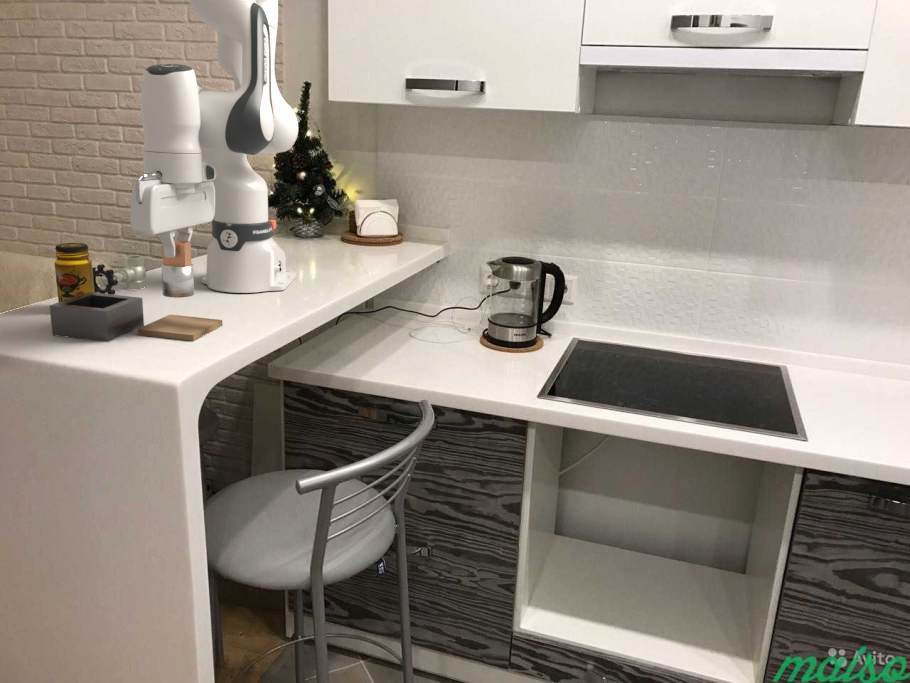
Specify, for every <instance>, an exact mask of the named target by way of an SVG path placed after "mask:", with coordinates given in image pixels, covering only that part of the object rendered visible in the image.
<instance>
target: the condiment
mask: <svg viewBox="0 0 910 683" xmlns="http://www.w3.org/2000/svg"><path fill="white" fill-rule="evenodd" d="M54 249H55V252H56V253H55V257H56V259H55V260H54V268H55V269H54V272H55V281H56V290H57V291H56V292H57V298H58V300H57V303H58V302H61V301H64V300H67V299H70V298H73V297H76V296H79V295H82V294H85V293H88V292H93V293H95V292H94V281H93V269H92V268H93V262H92V259H91V258H90V252H89V246H88V244H86V243H83V242H65V243H59V244H57V245H55V248H54Z"/></svg>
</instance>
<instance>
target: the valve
mask: <svg viewBox="0 0 910 683" xmlns="http://www.w3.org/2000/svg"><path fill="white" fill-rule="evenodd" d="M123 265H124V267H121V268H119V269H117V272H114V270H113V269H110V268H109V269H106V270H105V268H106V265H105V264H102V263H101V264H98V265H97V266H92V269H93V281H94V292H95V293H102V294H112V295H116V290H115V289H113V287H115V286H118V284H119V282H120V283H123V284H125V288H126V287H127V288H129V289H140V290H142V289H141V288H144V287H146V288H147V286H146V284H147V282H146V280H145V279H146V277H147V271H146V268H145V266H144V265H145V257H144V256H143V255H138V254H134V255H126V256H124V257H123ZM96 269H97V270H96ZM97 277H98V278H97ZM100 286H101V287H103V286H105V288H101V287H100ZM127 288H126V289H127ZM129 289H128V290H129ZM144 289H145V288H144Z"/></svg>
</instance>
